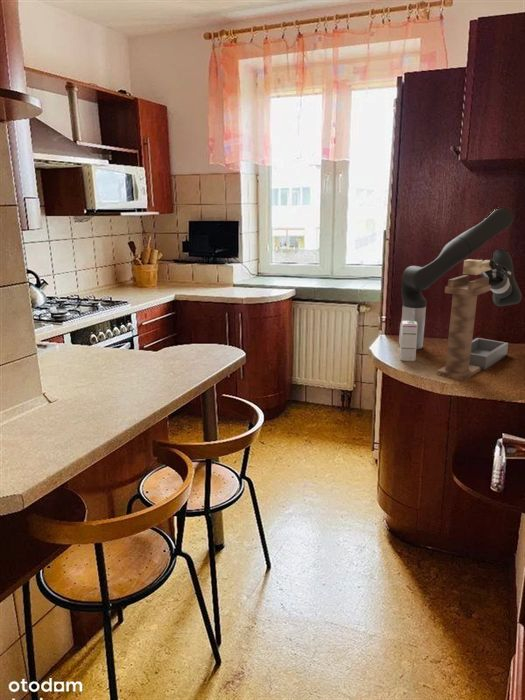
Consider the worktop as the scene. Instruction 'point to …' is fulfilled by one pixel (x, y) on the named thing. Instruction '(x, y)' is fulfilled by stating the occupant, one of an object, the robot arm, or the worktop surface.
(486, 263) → the peg
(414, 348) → the syrup box
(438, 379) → the worktop surface
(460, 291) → the stand
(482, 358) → the tray
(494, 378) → the worktop surface
